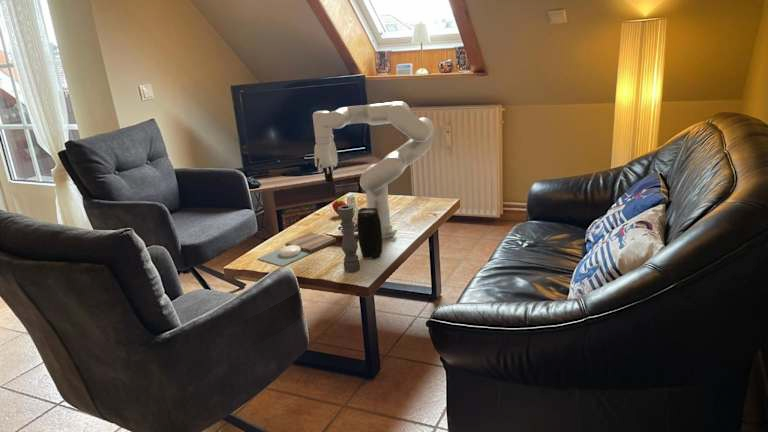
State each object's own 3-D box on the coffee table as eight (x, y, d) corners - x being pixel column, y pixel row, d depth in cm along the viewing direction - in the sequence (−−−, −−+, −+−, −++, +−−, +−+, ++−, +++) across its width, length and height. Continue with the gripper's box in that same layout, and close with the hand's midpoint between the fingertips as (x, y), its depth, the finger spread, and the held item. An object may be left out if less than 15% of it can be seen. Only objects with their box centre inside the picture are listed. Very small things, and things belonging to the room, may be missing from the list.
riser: (336, 241, 242) (335, 238, 242) (311, 253, 232) (310, 249, 231) (310, 236, 252) (310, 232, 252) (285, 247, 242) (285, 243, 241)
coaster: (305, 251, 233) (304, 247, 233) (288, 258, 227) (288, 254, 226) (291, 247, 239) (291, 243, 239) (275, 254, 233) (274, 250, 232)
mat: (310, 254, 231) (310, 253, 231) (282, 266, 220) (282, 265, 220) (285, 247, 241) (284, 246, 241) (257, 259, 230) (257, 258, 230)
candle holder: (344, 267, 215) (336, 205, 207) (360, 265, 215) (353, 204, 207) (344, 273, 209) (337, 210, 201) (360, 272, 209) (354, 208, 201)
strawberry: (337, 213, 282) (335, 194, 279) (350, 214, 278) (347, 195, 275) (330, 217, 277) (328, 197, 274) (343, 218, 273) (341, 199, 270)
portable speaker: (358, 254, 226) (353, 208, 220) (380, 250, 228) (376, 205, 222) (363, 262, 218) (358, 214, 212) (386, 257, 220) (381, 211, 214)
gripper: (330, 136, 245) (335, 176, 250) (305, 143, 234) (311, 185, 240) (342, 137, 240) (347, 178, 246) (318, 144, 229) (323, 187, 235)
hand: (329, 181), depth 243 cm, fingers closed
